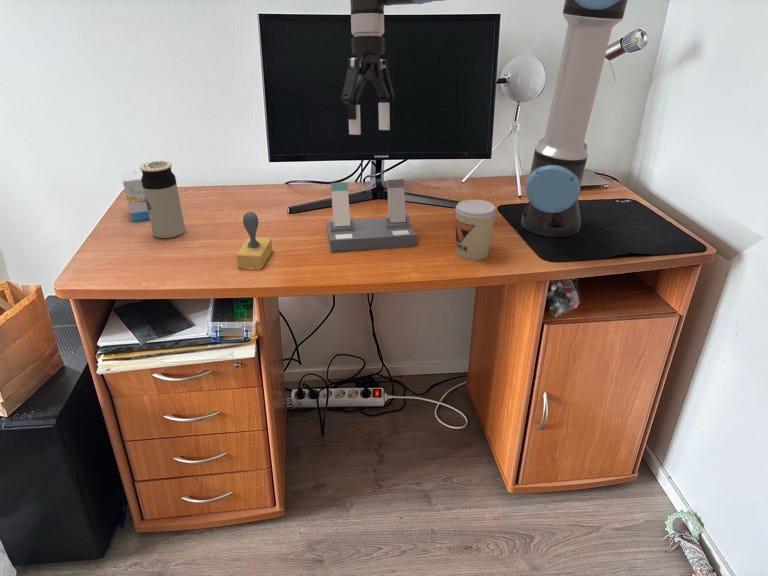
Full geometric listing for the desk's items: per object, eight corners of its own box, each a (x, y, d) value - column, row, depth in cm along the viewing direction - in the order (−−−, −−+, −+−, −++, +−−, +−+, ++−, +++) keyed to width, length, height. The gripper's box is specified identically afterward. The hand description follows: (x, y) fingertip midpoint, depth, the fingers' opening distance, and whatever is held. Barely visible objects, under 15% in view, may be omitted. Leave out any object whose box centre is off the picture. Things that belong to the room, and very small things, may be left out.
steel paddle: (389, 223, 142) (386, 180, 140) (404, 222, 143) (402, 179, 141) (390, 224, 140) (387, 180, 139) (405, 222, 141) (403, 179, 139)
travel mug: (185, 225, 150) (172, 159, 142) (185, 236, 144) (172, 168, 135) (153, 228, 148) (138, 161, 139) (152, 240, 142) (137, 171, 133)
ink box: (164, 218, 155) (156, 177, 149) (131, 222, 152) (121, 181, 146) (163, 207, 162) (155, 168, 156) (131, 211, 159) (122, 171, 153)
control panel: (326, 232, 146) (325, 211, 144) (406, 226, 149) (406, 206, 146) (330, 251, 136) (329, 230, 133) (415, 245, 139) (416, 224, 136)
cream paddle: (333, 227, 140) (330, 183, 138) (349, 226, 141) (346, 182, 139) (334, 227, 139) (331, 183, 137) (350, 226, 139) (347, 182, 137)
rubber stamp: (249, 250, 137) (243, 203, 131) (273, 250, 137) (267, 204, 131) (237, 269, 129) (230, 220, 123) (262, 269, 128) (256, 221, 122)
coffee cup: (446, 248, 138) (448, 201, 132) (479, 242, 141) (483, 196, 135) (463, 264, 130) (467, 216, 124) (499, 258, 133) (504, 210, 127)
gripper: (381, 39, 140) (382, 127, 147) (322, 33, 120) (327, 136, 127) (407, 38, 137) (408, 128, 144) (351, 31, 116) (355, 136, 124)
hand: (370, 132), depth 136 cm, fingers open, 13 cm apart
